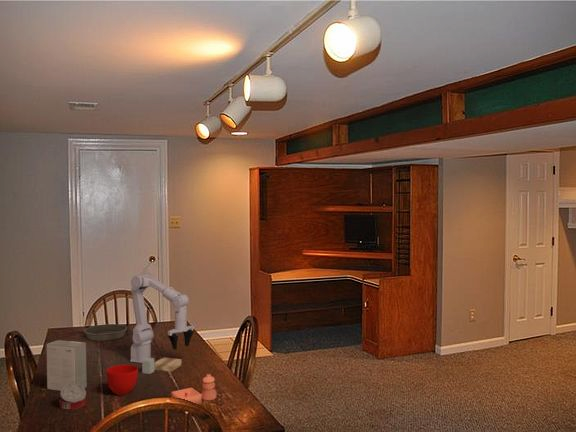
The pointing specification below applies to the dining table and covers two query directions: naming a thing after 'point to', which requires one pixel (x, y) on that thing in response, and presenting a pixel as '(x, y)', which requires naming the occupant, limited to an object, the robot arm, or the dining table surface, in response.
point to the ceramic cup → (122, 378)
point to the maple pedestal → (167, 364)
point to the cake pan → (105, 332)
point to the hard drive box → (65, 363)
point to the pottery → (195, 396)
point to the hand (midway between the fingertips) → (180, 347)
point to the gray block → (148, 366)
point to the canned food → (72, 396)
